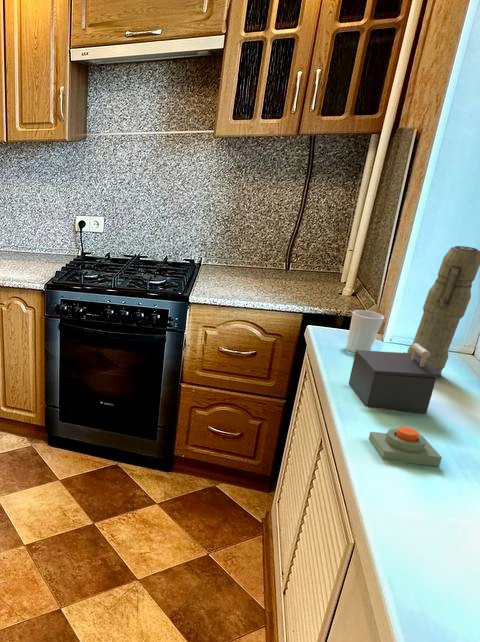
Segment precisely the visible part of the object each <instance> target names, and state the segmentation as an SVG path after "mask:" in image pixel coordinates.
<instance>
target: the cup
mask: <svg viewBox="0 0 480 642" xmlns="http://www.w3.org/2000/svg"><path fill="white" fill-rule="evenodd" d="M384 319H385V316H384V315H383V314H381V313H379V312H375V311H372V310H367V309H355V310H353V311H352V314H351V319H350V325H349V331H348V335H347V340H346V345H345V348H346V350H348V351H350V352H353V353H355V352H356V350H361V351H372V350H371V349H372V347H373V344H374V342H375V340H376V338H377V335H378V333H379V330H380V327H381V326H382V323H383V321H384Z"/></svg>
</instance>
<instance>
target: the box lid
mask: <svg viewBox="0 0 480 642" xmlns="http://www.w3.org/2000/svg"><path fill="white" fill-rule="evenodd" d="M411 345H412V344H411ZM411 345H410V346H411ZM411 348H412V349H413V353H407V352H396V351H377V350H370V351H361V350H356V352H354V354H355V353H356V354H357V355H358V356H359V357H360V358H361V360H362V361H363V362H364V363H365V364H366V365H367V366H368V367H369V368H370V369H371V370H372V371H373V373H374V374H387V375H402V376H418V377H433V378H436V379H442V373H441V374H440V373H439V372H437V371H436V370H435V369H434V368H432V367H431V366H430V365H429V364H428V363H426V362H425V361H426V358H428V357H429V356H430V352H428V351H427V350H426V349H425V348H423V347H422V346H421V345H420V344H418V343H415V344H413V345H412V346H411ZM417 353H418V354H419V355H420V356H421V357H422V358H420V357H419V356H418V355H417Z"/></svg>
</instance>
